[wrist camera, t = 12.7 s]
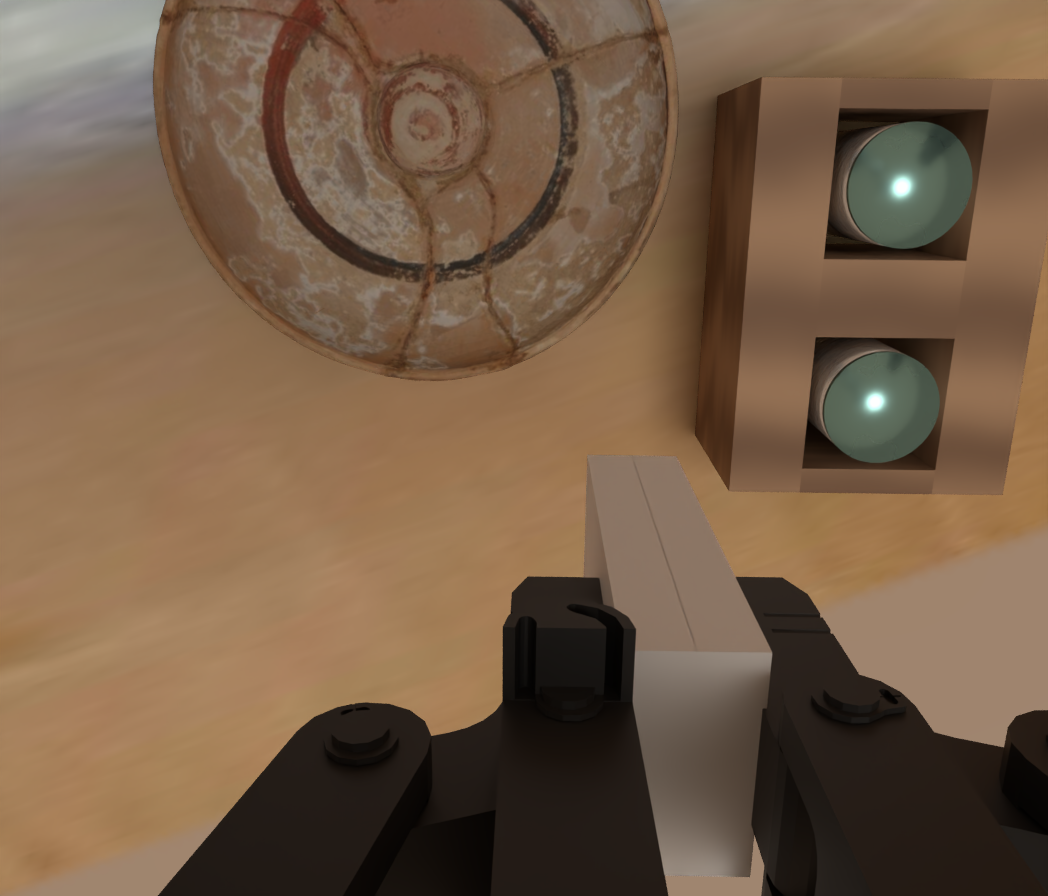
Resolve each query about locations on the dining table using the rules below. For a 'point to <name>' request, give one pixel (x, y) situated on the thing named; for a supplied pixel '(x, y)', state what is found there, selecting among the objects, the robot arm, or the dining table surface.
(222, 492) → the dining table surface
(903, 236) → the peg
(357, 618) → the dining table surface
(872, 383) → the peg
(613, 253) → the ceramic bowl
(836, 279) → the walnut block
